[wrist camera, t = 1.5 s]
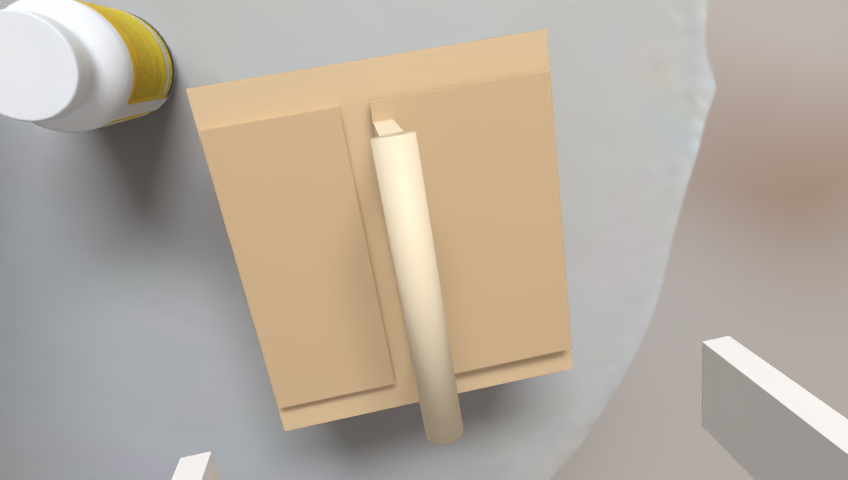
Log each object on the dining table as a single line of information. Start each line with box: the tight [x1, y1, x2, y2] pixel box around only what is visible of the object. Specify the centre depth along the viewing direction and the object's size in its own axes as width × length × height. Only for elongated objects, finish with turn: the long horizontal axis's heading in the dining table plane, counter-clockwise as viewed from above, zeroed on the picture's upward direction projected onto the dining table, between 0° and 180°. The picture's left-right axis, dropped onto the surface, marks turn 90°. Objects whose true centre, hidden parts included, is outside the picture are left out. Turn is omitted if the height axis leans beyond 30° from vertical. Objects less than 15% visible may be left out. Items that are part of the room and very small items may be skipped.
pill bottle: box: [0, 0, 175, 133], centre depth 29 cm, size 6×6×12 cm
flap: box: [369, 71, 572, 445], centre depth 26 cm, size 10×16×8 cm, turn 9°
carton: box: [186, 29, 573, 431], centre depth 34 cm, size 18×20×11 cm
